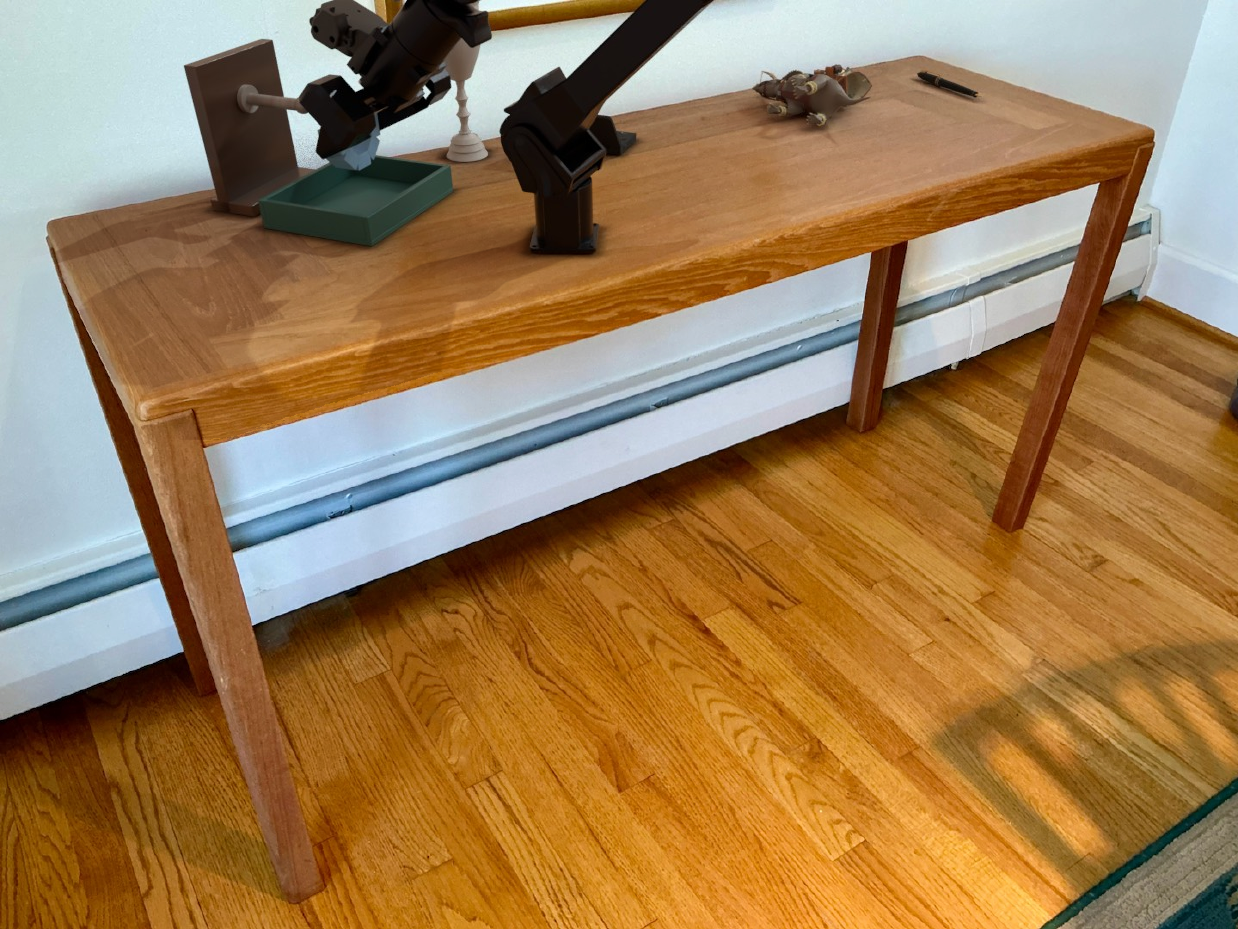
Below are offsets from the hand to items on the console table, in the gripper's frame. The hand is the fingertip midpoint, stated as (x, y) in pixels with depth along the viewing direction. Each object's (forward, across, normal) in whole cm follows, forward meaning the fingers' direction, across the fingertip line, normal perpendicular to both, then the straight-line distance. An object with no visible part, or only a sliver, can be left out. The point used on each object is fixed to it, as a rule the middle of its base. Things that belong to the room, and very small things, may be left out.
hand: (341, 144), depth 103 cm
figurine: (-22, -53, +33) cm, 66 cm away
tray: (+4, 0, +6) cm, 7 cm away
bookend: (-6, -27, +16) cm, 32 cm away
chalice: (+3, -20, +7) cm, 21 cm away
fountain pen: (-33, -69, +44) cm, 88 cm away
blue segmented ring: (-2, 0, 0) cm, 2 cm away
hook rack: (+11, 0, -1) cm, 11 cm away
